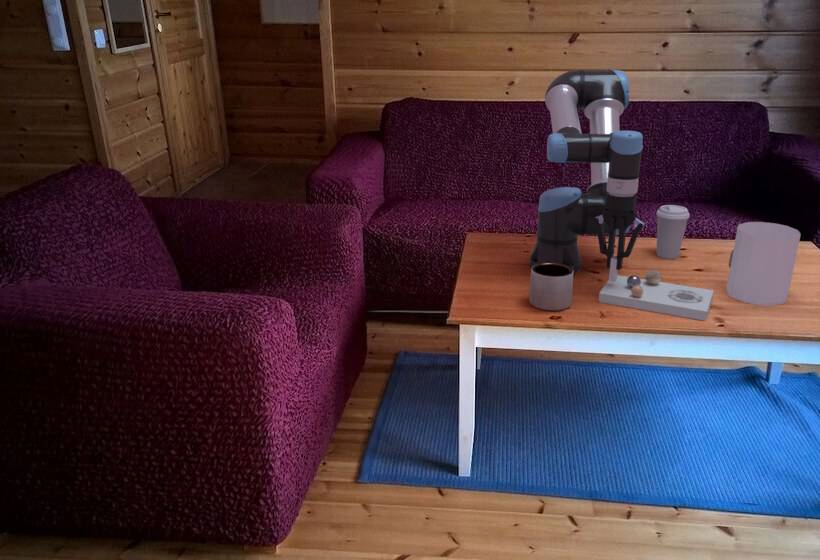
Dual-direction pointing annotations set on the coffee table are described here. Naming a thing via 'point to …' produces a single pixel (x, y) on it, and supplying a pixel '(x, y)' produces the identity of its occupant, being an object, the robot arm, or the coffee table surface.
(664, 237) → the coffee cup
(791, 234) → the container
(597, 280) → the coffee table surface
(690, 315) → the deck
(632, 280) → the steel ball
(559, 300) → the planter
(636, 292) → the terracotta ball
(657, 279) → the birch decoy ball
